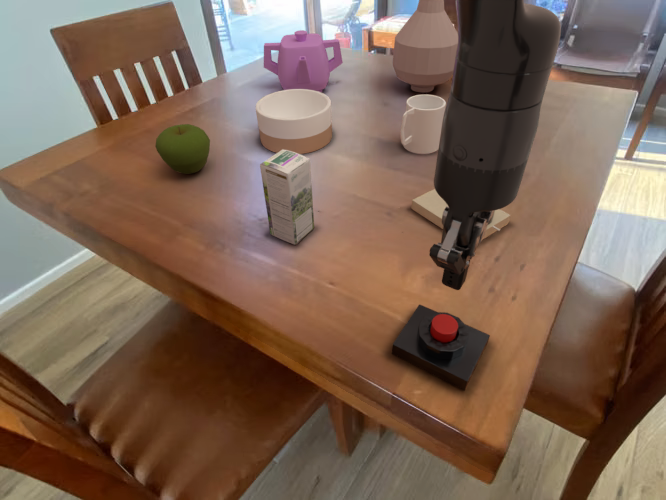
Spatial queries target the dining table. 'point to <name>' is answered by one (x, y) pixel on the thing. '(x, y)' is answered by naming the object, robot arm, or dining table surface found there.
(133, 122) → the dining table surface
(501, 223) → the hob panel
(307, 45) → the teapot
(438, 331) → the button
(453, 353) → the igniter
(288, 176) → the syrup box
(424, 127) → the cup
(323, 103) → the bowl
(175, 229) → the dining table surface
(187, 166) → the apple
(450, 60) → the vase
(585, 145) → the dining table surface
